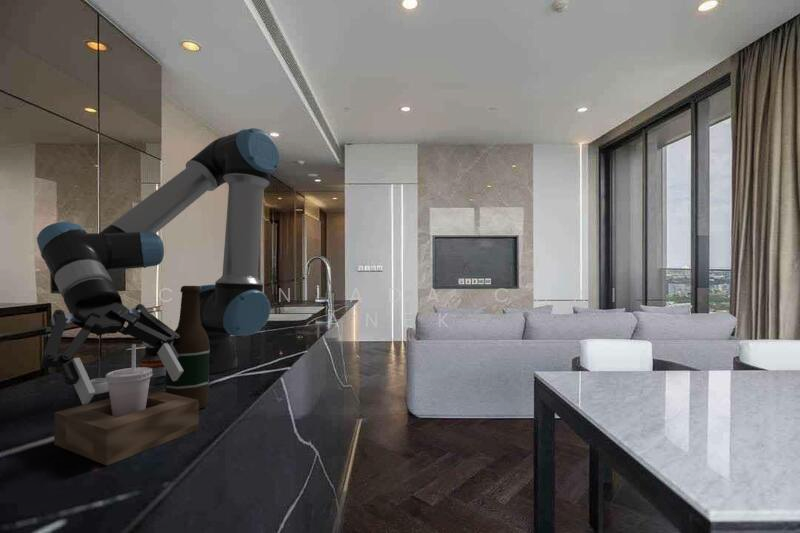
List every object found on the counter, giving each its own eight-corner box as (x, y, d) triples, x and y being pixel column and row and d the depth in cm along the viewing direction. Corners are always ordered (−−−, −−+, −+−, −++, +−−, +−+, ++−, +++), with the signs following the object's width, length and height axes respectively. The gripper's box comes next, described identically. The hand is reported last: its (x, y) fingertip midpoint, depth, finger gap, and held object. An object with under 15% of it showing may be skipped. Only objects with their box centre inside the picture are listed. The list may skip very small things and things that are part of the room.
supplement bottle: (143, 395, 85) (143, 343, 86) (174, 392, 88) (174, 341, 88) (136, 404, 80) (137, 348, 80) (170, 400, 82) (170, 346, 82)
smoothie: (157, 430, 64) (157, 344, 64) (108, 443, 59) (109, 350, 59) (146, 420, 68) (147, 340, 69) (101, 431, 64) (101, 345, 64)
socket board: (146, 415, 74) (146, 388, 74) (198, 429, 67) (198, 399, 67) (54, 444, 61) (54, 412, 61) (106, 465, 54) (107, 429, 54)
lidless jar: (78, 396, 85) (103, 395, 86) (78, 383, 86) (104, 382, 86) (92, 390, 90) (116, 388, 91) (92, 377, 90) (116, 376, 91)
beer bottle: (179, 401, 81) (182, 286, 83) (216, 401, 81) (218, 285, 83) (156, 413, 74) (159, 285, 75) (197, 412, 74) (200, 285, 75)
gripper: (151, 300, 82) (197, 381, 75) (-14, 312, 60) (30, 427, 53) (166, 275, 80) (216, 356, 73) (0, 277, 58) (49, 393, 51)
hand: (138, 386), depth 63 cm, fingers open, 13 cm apart
